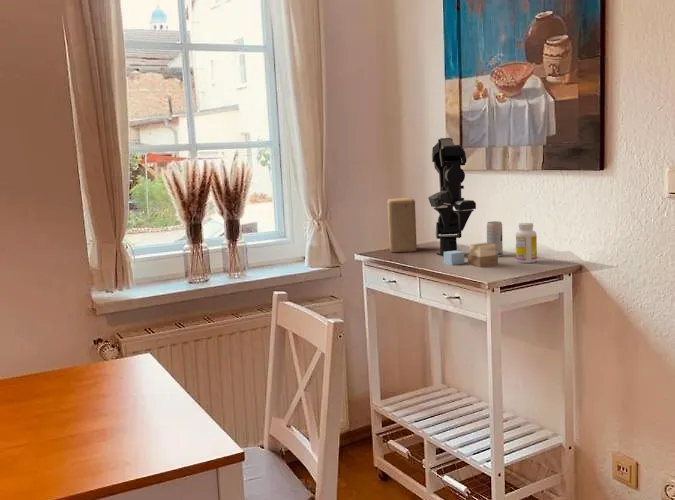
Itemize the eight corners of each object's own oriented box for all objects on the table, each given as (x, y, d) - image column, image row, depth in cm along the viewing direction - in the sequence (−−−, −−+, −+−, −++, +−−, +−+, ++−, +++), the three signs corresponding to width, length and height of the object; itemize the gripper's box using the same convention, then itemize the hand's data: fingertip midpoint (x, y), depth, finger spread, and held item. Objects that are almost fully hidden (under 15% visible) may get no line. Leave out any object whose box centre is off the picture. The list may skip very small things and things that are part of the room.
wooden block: (417, 251, 260) (415, 199, 257) (390, 253, 260) (388, 200, 257) (414, 247, 270) (412, 197, 267) (389, 249, 270) (387, 198, 267)
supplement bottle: (534, 259, 231) (534, 221, 229) (538, 263, 224) (538, 224, 222) (514, 260, 232) (514, 222, 230) (517, 263, 225) (517, 225, 223)
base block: (467, 265, 229) (467, 254, 228) (485, 262, 232) (485, 252, 231) (480, 268, 223) (479, 257, 222) (497, 265, 225) (497, 255, 225)
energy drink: (503, 254, 244) (502, 221, 242) (501, 257, 239) (501, 223, 237) (488, 254, 246) (487, 221, 244) (486, 257, 241) (485, 223, 239)
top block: (443, 263, 234) (443, 251, 233) (456, 261, 235) (456, 250, 235) (451, 265, 229) (451, 253, 228) (464, 263, 231) (464, 252, 230)
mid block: (470, 254, 228) (469, 244, 228) (485, 252, 231) (485, 242, 230) (480, 257, 223) (480, 246, 222) (495, 255, 225) (495, 244, 225)
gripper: (417, 183, 233) (418, 229, 236) (447, 185, 216) (448, 234, 219) (444, 181, 238) (446, 225, 240) (476, 183, 221) (477, 231, 223)
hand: (453, 229), depth 230 cm, fingers open, 9 cm apart
